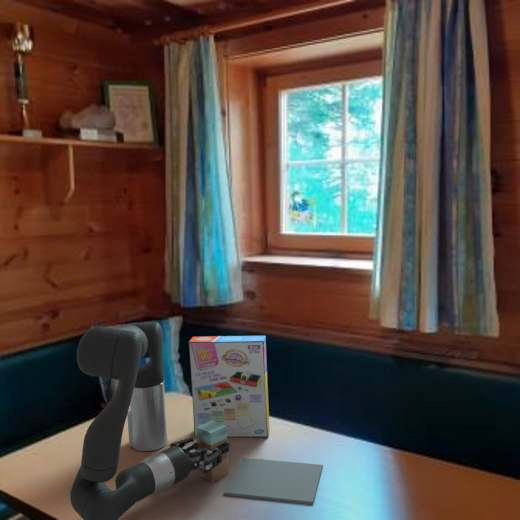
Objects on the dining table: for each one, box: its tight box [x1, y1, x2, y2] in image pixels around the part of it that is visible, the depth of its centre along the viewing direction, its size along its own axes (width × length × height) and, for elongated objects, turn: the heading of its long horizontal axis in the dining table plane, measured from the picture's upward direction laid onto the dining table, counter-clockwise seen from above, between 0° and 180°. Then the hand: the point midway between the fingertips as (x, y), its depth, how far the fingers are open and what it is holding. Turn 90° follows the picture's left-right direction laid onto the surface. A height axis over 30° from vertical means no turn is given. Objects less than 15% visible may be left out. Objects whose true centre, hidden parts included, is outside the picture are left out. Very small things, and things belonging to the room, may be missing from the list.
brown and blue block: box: [196, 420, 229, 483], centre depth 132 cm, size 5×5×12 cm
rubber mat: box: [223, 457, 324, 505], centre depth 129 cm, size 20×16×1 cm
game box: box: [188, 335, 270, 438], centre depth 152 cm, size 21×6×27 cm, turn 84°
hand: (220, 442), depth 133 cm, fingers closed on brown and blue block, 5 cm apart
